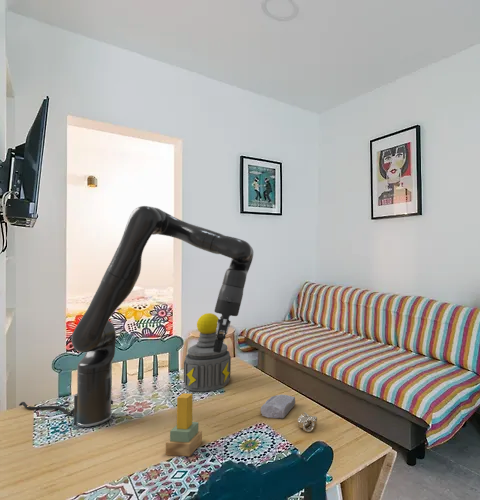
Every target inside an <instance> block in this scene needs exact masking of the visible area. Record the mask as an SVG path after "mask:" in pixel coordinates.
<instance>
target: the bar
mask: <svg viewBox="0 0 480 500" xmlns="http://www.w3.org/2000/svg"><path fill="white" fill-rule="evenodd" d="M193 396H194V395H193V393H185V392H183V393H181V394H180V395H178V396H177V397H176V425H177V429H188V428H189V427H190V426H191V425H192V422H193V403H194V402H193V401H194V400H193Z"/></svg>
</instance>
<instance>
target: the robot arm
mask: <svg viewBox="0 0 480 500" xmlns="http://www.w3.org/2000/svg"><path fill="white" fill-rule="evenodd" d="M154 235H158V236H159V235H160V236H166V237H171V238H174V239H177V240H181V241H183V242H185V243H187V244H189V245H191V246H193V247H195V248H197V249H199V250H202V251H206V252H209V253H212V254H215V255H221V256H224V257H227V258H229V259H231V260H230V263H229V267H228V268H227V269H226V270H225V272H224V276H223V279H222V284H221V287H220V289H219V291H218V295H217V299H216V303H215V307H214V310H213V311H214V313H216V314H220V317H219V319H218V322H217V328H216V340H215V344H214V350H213V351H214V352H218V353H220V352H221V348H222V345H223V344H224V341H225V340H226V335H228V332H229V328H230V325H231V322H232V321H231V320H230V317H237V316H239V312H240V309H241V304H242V300H243V296H244V290H245V289H244V288H245V285H246V281H247V277H248V273H249V270H250V267H251V266H252V263H253V259H254V249H253V247H252V246H251V244H250V243H249V242H247V240H243V239H240V238H237V237H233V236H229V235H225V234H222V233H221V232H217V231H214V230H211V229H208V228H204V227H202V226H198V225H196V224H192V223H189V222H186V221H183V220H182V219H179V218H177V217H175V216H173V215H171V214H169V213H168V212H166V211H164V210H162V209H161V208H158V207H154V206H148V205H141V206H138V207H136V208H134V209H133V211H132V212H131V213H130V215H129V217H128V219H127V223H126V226H125V228H124V231H123V234H122V236H121V240H120V242H119V244H118V247H117V248H116V250H115V252H114V254H113V257H112V259H111V261H110V263H109V265H108V266H107V268H106V270H105V272H104V274H103V276H102V278H101V281H100V283H99V285H98V287H97V289H96V291H95V293H94V295H93V297H92V299H91V302H90V303H89V305H88V308H87V309H86V311H85V312H84V314H83V315H82V317H81V319H80V320H79V322H78V323H77V325H76V327H75V328H74V330H73V332H72V335H71V344H72V347H73V349H74V350H75V351H77V352H79V353H84V356H83V357H82V358H81V359H80V360H79V362H78V363H77V369H76V370H77V371H76V373H77V374H76V375H77V379H76V383H77V385H76V387H77V388H76V393H75V394H74V396H73V408H72V409H71V410H70V412H69V410H67V409H65V408H64V407H62V406H58V405H42V406H32V405H31V406H30V405H28V404H27V403H26V401H21V402H20V403H19V404H18V406H23V407H24V408H25V409H27V410H46V409H47V410H48V409H56V410H60V411H62V412H63V413H64V414H65V415H67V416H68V417H69V416H72V417H73V424H74V425H76V426H77V427H79V428H93V427H96V426H99V425H102V424H104V423H107V422H108V421H110V420H111V419H112V417H113V415H112V406H114V400H113V399H112V392H113V391H112V389H113V388H112V387H113V386H112V384H113V383H112V382H113V380H112V379H113V377H112V375H113V373H112V372H113V371H112V369H113V360H114V358H115V354H116V342H117V341H116V340H117V331H116V328H115V325H114V324H113V323H112V322H111V321H110V318H111V317H112V315H113V314H114V312H115V311H116V310H117V309H118V308H119V307H120V306H121V305H122V304H123V302H124V301H125V300H126V299H127V298H128V297H129V296H130V294H131V293H132V291H133V290H134V287H135V285H136V284H137V281H138V279H139V277H140V276H141V275H140V274H141V271H142V257H143V253H144V250H145V247H146V245H147V243H148V242H149V240H150V239H151V237H152V236H154ZM27 406H29V407H27Z"/></svg>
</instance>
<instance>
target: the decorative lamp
mask: <svg viewBox="0 0 480 500" xmlns="http://www.w3.org/2000/svg"><path fill="white" fill-rule="evenodd" d="M218 319H220V317H219V316H217V315H216V314H215V313H212V312H206V313H204V314H202V315H201V316H200V317H199V318H198V319H197V321H196V328H197V331H198V332H199V334H198V335H199V337H198V338H197V343H196V344H193V345H192V346H189V348H188V349H187V354H186V355H185V357H184V358H185V359H184V360H183V384H184V387H185V389H187V390H188V391H191V392H195V393H196V392H197V393H202V392H203V393H204V392H212V391H216V390H219V389H222V388H225V386H226V385H228V384H229V382H230V379H231V373H232V372H231V370H232V369H231V367H232V366H231V365H232V356H231V353H230V351H229V350H228V345H227V344H225V343H223V345H222V348H221V352H220V353H218V352H214V351H213V350H214V344H215V340H216V328H217V322H218Z"/></svg>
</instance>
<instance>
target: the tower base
mask: <svg viewBox="0 0 480 500" xmlns="http://www.w3.org/2000/svg"><path fill="white" fill-rule="evenodd" d="M202 443H203V431H202V430H198V433H197V434H196V435H195V436H194V437H193V438H192V439H191V440H190V441H189V442H174V441H170V438H169V439H168V440H167V441H166V442H165V455H166V456H175V457H176V456H177V457H191V455H192V454H193V453H194V452H195V451H196V450H197V449H198V448H199V447H200V445H202Z"/></svg>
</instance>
